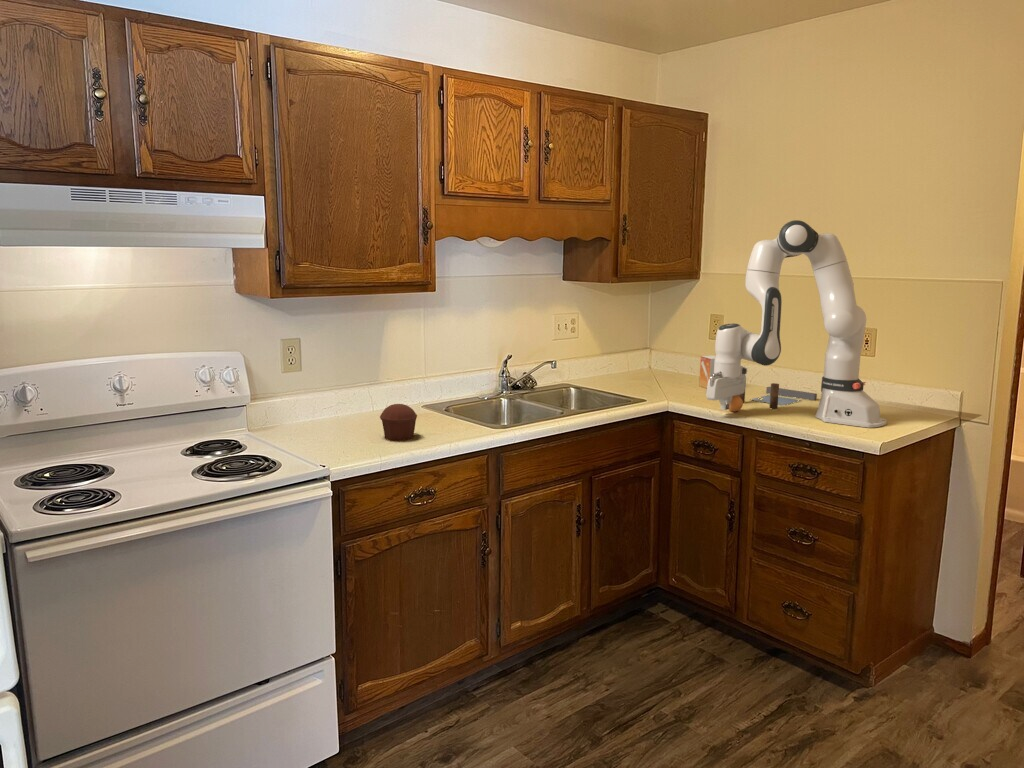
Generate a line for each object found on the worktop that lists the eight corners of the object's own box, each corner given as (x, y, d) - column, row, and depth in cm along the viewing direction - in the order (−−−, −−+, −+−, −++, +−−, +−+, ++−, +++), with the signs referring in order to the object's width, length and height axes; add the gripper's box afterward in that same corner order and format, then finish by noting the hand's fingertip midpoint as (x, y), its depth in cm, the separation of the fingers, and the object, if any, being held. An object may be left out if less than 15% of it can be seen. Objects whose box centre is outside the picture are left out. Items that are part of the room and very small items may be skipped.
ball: (745, 411, 277) (746, 395, 276) (736, 413, 273) (737, 397, 272) (730, 408, 281) (731, 392, 280) (721, 411, 277) (722, 394, 276)
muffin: (423, 439, 235) (423, 406, 233) (388, 443, 229) (388, 410, 227) (408, 431, 245) (407, 399, 243) (374, 435, 239) (374, 403, 237)
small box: (698, 386, 327) (700, 355, 324) (712, 385, 329) (713, 355, 326) (709, 389, 319) (710, 358, 317) (722, 389, 321) (724, 357, 319)
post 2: (778, 408, 283) (780, 384, 282) (775, 409, 281) (776, 384, 280) (771, 407, 285) (773, 383, 284) (767, 408, 283) (769, 383, 282)
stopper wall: (816, 400, 299) (817, 393, 299) (814, 400, 298) (814, 394, 297) (768, 392, 313) (769, 386, 313) (766, 393, 312) (766, 387, 312)
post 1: (745, 402, 293) (747, 379, 291) (741, 403, 291) (743, 380, 289) (739, 401, 295) (740, 378, 293) (735, 402, 293) (736, 379, 291)
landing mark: (801, 400, 297) (801, 400, 297) (783, 405, 288) (783, 405, 288) (768, 395, 307) (768, 395, 307) (749, 400, 298) (749, 399, 298)
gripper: (718, 375, 260) (717, 415, 263) (750, 368, 274) (747, 406, 277) (702, 372, 265) (700, 412, 267) (734, 366, 279) (732, 404, 281)
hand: (725, 409), depth 272 cm, fingers closed
